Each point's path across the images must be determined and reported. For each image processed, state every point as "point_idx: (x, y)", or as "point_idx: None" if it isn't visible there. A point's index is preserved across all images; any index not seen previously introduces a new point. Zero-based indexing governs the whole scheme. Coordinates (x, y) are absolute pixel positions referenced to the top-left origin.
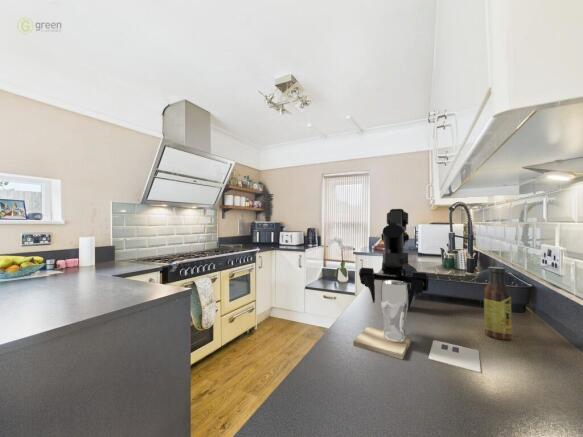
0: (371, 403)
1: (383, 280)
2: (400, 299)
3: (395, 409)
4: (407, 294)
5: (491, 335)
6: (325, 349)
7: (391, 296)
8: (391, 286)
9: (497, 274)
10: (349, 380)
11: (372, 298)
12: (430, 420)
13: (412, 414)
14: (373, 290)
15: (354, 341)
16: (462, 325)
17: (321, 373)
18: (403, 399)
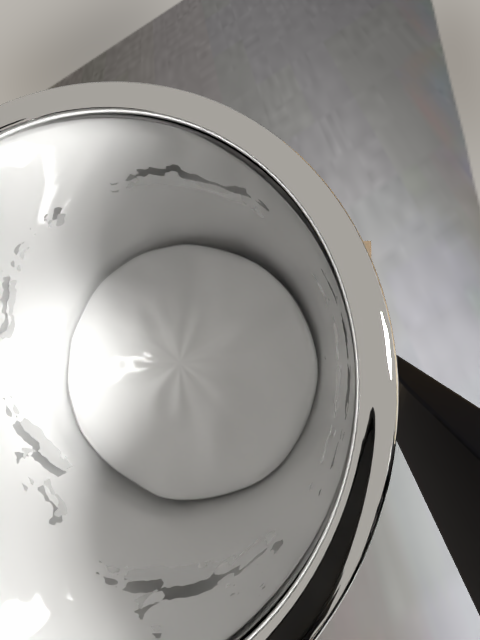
0: (232, 33)
1: (368, 449)
2: (107, 250)
3: (188, 46)
4: (8, 331)
5: None
6: (437, 167)
7: (179, 211)
8: (119, 124)
9: None
10: (299, 70)
11: (407, 363)
12: (130, 57)
13: (159, 52)
14: (468, 434)
15: (365, 241)
16: None
17: (374, 53)
18: (177, 81)
